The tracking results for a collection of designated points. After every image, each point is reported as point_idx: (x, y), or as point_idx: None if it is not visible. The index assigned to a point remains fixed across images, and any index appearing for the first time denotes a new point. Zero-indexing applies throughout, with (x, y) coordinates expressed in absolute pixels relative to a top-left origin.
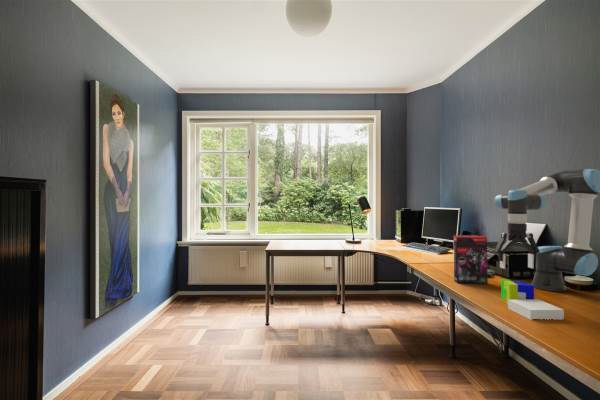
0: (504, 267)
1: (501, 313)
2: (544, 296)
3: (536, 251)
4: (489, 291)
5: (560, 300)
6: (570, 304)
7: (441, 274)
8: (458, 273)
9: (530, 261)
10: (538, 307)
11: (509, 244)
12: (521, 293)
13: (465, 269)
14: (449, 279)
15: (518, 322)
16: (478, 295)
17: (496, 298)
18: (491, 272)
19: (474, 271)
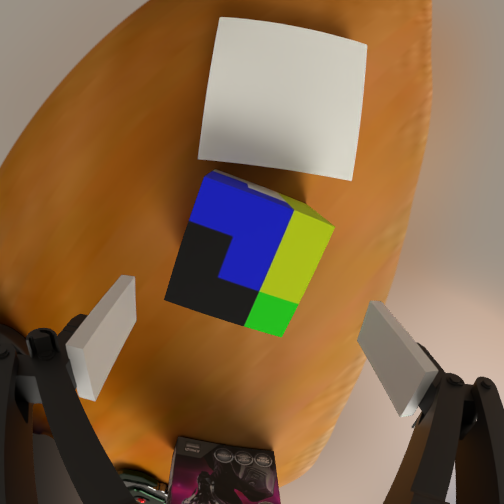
0: (377, 305)
1: (402, 136)
2: (66, 294)
3: (16, 364)
4: (232, 379)
5: (44, 242)
6: (44, 193)
7: None
8: (273, 475)
9: (116, 324)
10: (308, 56)
11: (434, 474)
12: (268, 194)
13: (252, 485)
14: None
15: (406, 55)
16: (316, 342)
17: None
18: None
19: (221, 476)
